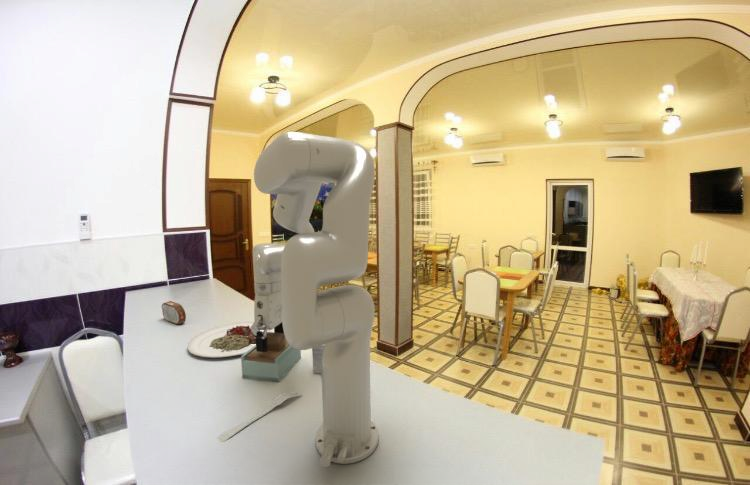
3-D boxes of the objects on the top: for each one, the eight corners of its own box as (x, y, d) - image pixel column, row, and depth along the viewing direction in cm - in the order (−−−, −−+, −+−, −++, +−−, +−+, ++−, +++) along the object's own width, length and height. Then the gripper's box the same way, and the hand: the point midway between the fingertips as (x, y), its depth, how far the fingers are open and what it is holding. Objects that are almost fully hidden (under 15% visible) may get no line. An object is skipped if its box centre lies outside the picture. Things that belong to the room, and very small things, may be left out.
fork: (216, 449, 65) (214, 437, 64) (298, 392, 81) (297, 382, 80) (223, 455, 63) (220, 443, 62) (305, 396, 79) (304, 386, 78)
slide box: (278, 382, 85) (277, 359, 84) (242, 378, 87) (241, 356, 86) (300, 357, 98) (300, 338, 98) (269, 354, 101) (268, 335, 100)
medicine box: (327, 374, 88) (326, 345, 87) (312, 373, 89) (311, 344, 88) (336, 361, 96) (335, 334, 95) (322, 360, 97) (321, 333, 96)
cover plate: (274, 363, 85) (273, 344, 84) (246, 360, 87) (245, 342, 86) (294, 344, 97) (293, 328, 96) (269, 342, 98) (268, 326, 98)
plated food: (199, 372, 91) (198, 361, 90) (179, 340, 113) (179, 331, 113) (294, 342, 110) (294, 333, 110) (261, 320, 133) (261, 312, 133)
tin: (187, 324, 129) (185, 304, 128) (179, 327, 126) (177, 306, 125) (169, 318, 137) (167, 299, 136) (161, 320, 134) (159, 301, 133)
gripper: (263, 295, 80) (267, 359, 82) (294, 280, 97) (296, 333, 99) (237, 294, 82) (241, 356, 84) (272, 279, 99) (274, 331, 101)
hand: (271, 343), depth 91 cm, fingers open, 9 cm apart
